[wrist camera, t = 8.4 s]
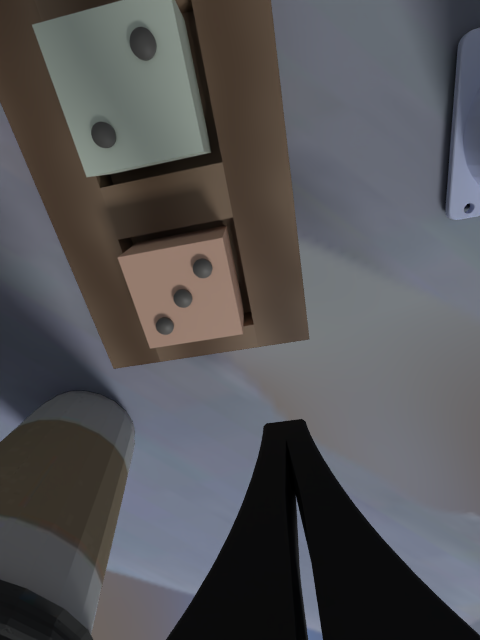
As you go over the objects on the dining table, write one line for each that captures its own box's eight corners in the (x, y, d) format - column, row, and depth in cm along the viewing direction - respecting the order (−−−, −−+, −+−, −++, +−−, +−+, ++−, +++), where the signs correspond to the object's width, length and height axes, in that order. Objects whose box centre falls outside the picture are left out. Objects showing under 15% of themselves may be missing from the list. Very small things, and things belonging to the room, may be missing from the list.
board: (213, -443, 10) (205, -575, 8) (304, 323, 21) (309, 339, 19) (-135, -302, 11) (-209, -389, 9) (124, 351, 22) (113, 368, 21)
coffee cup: (25, 471, 28) (-185, 767, 14) (-2, 356, 23) (-364, 645, 9) (162, 485, 28) (82, 787, 15) (165, 375, 23) (48, 679, 10)
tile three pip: (226, 225, 18) (222, 238, 15) (243, 310, 20) (242, 336, 17) (137, 242, 18) (116, 258, 15) (163, 323, 20) (149, 350, 17)
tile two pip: (184, 20, 14) (167, -16, 11) (211, 152, 16) (203, 151, 13) (72, 49, 14) (28, 22, 11) (113, 173, 17) (84, 177, 14)
